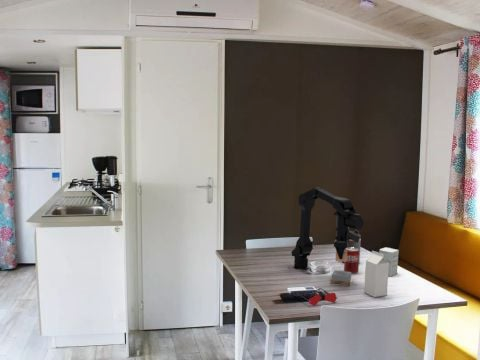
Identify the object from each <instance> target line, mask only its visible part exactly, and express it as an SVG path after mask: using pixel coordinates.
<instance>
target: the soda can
mask: <svg viewBox="0 0 480 360" xmlns="http://www.w3.org/2000/svg"><path fill="white" fill-rule="evenodd" d="M345 251H347V261H346V262H344V264H343V271H346V272H351V275H356V274H358V273H359V268H360V261H359V249H357V248H346V249H345Z"/></svg>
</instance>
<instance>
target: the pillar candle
mask: <svg viewBox="0 0 480 360" xmlns="http://www.w3.org/2000/svg"><path fill="white" fill-rule="evenodd" d="M347 241H349V243H348V247H347V248H357V249H359V262H360V258H361V244H362V243H361V241H362V239H361V238H360V239H359V242H358V243H356V242H355V241H353V240H347ZM344 251H345V250H344ZM340 262H341V263H342V264H343V265H344V262H343V261H340Z"/></svg>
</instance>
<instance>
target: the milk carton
mask: <svg viewBox="0 0 480 360" xmlns="http://www.w3.org/2000/svg"><path fill="white" fill-rule="evenodd" d="M388 269H389V262H388V261H387V260H386V259H385V258H384V256H383V254H380V253H379V251H374V250H371V253H370V254H369V256H367V258H366V259H365V269H364V270H365V271H364V289H363V291H364V294H367V295H369V296H371V297H374V298H378V297H379V298H380V297H383V296H387V295H388V284H389V283H388V282H389V276H388Z"/></svg>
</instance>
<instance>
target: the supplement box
mask: <svg viewBox="0 0 480 360" xmlns="http://www.w3.org/2000/svg"><path fill="white" fill-rule="evenodd" d="M399 252H400V251H399V249H395V248H391V247H386V246H385V247H383V248H380V249H379V251H378V253H380V254H383V256H384V258H385V259H386V260H387V261H388V262H389V269H388V277H393V276H395V275H397V274H398V266H399V265H398V264H399Z"/></svg>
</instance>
